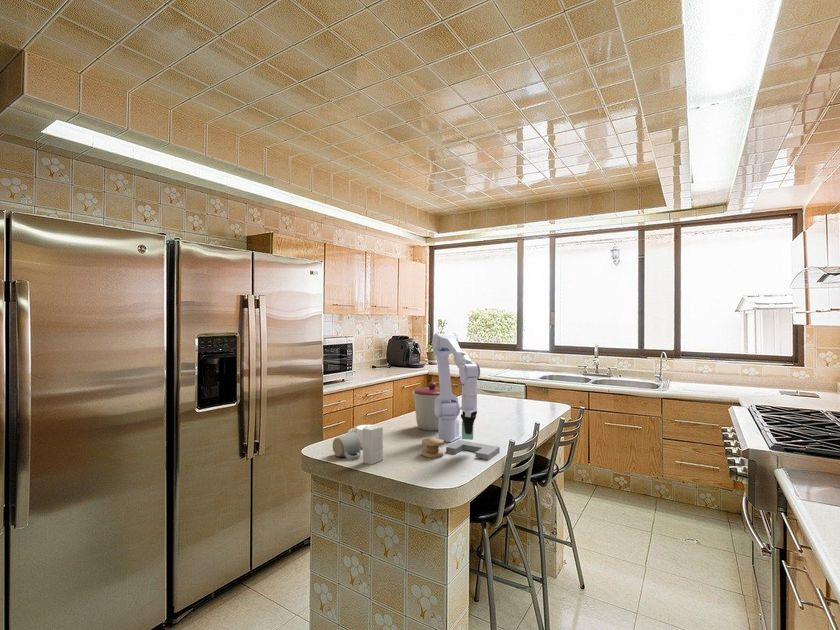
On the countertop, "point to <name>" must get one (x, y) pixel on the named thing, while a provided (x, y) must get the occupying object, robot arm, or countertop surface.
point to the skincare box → (372, 444)
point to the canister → (426, 407)
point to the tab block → (466, 436)
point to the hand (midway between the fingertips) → (469, 432)
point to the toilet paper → (359, 432)
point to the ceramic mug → (347, 446)
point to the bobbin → (432, 447)
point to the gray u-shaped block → (474, 449)
